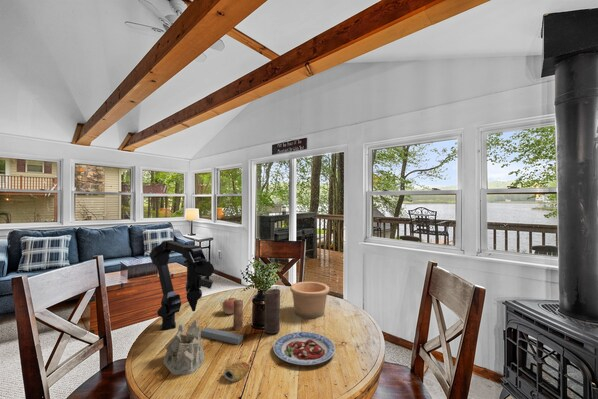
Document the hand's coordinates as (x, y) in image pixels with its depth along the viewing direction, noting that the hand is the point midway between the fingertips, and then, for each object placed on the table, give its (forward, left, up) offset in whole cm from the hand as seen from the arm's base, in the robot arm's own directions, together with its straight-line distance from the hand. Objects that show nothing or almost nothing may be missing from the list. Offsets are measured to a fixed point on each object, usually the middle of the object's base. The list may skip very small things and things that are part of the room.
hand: (193, 307), depth 128 cm
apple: (-19, +21, -13) cm, 31 cm away
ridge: (+8, +12, -13) cm, 19 cm away
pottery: (-3, +62, -13) cm, 63 cm away
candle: (+11, +35, -13) cm, 39 cm away
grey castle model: (+21, -5, -13) cm, 25 cm away
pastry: (+37, +12, -13) cm, 41 cm away
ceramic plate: (+32, +42, -13) cm, 54 cm away
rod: (0, +21, -13) cm, 24 cm away
